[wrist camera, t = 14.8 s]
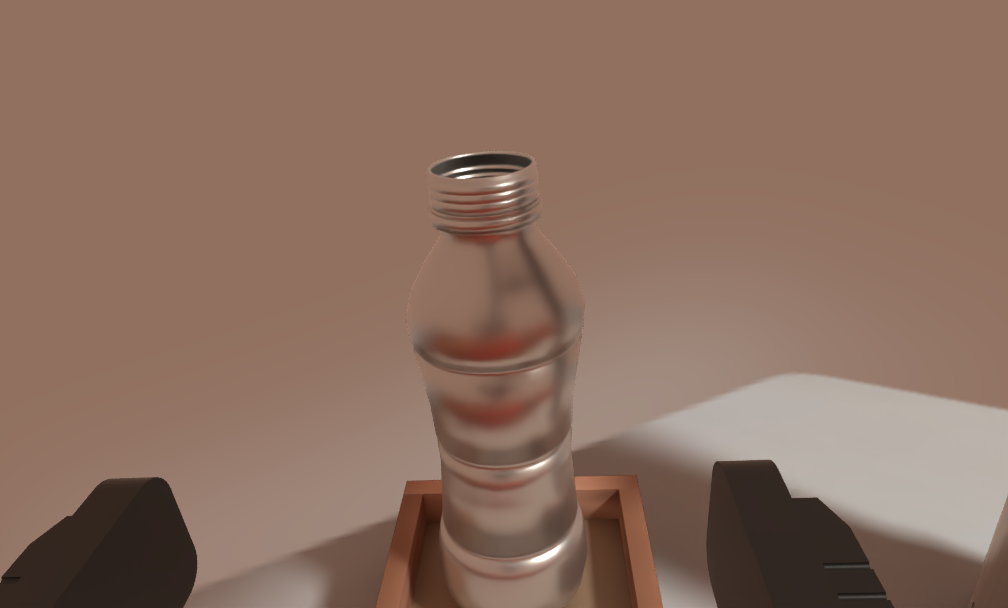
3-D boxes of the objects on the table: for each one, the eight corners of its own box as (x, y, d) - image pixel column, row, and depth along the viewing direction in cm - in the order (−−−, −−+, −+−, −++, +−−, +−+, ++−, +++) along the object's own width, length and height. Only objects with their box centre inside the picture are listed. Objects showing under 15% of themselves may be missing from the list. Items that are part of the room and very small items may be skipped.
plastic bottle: (434, 552, 33) (370, 155, 24) (563, 521, 34) (547, 133, 25) (459, 668, 27) (387, 207, 19) (611, 625, 29) (613, 174, 20)
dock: (634, 545, 36) (636, 475, 34) (662, 708, 28) (667, 630, 26) (418, 549, 37) (406, 480, 35) (387, 708, 29) (369, 633, 27)
